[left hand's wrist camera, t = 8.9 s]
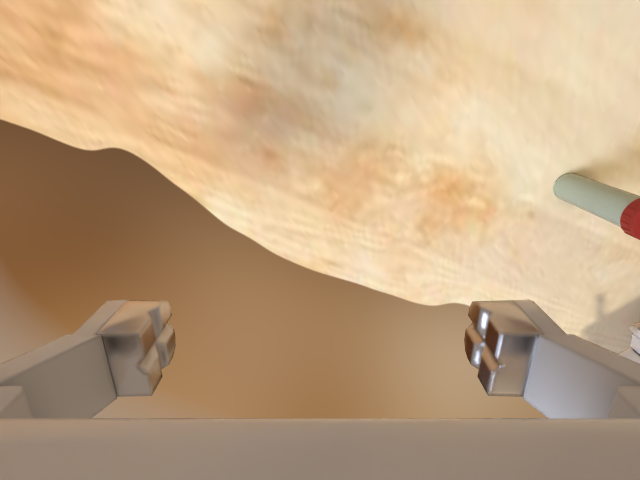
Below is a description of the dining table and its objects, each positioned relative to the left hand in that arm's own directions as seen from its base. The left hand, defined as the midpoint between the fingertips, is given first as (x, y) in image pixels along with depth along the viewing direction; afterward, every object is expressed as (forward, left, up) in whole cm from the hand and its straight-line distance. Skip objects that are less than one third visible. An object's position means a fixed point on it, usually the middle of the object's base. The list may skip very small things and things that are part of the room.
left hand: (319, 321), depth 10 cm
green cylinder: (+8, +37, -48) cm, 61 cm away
